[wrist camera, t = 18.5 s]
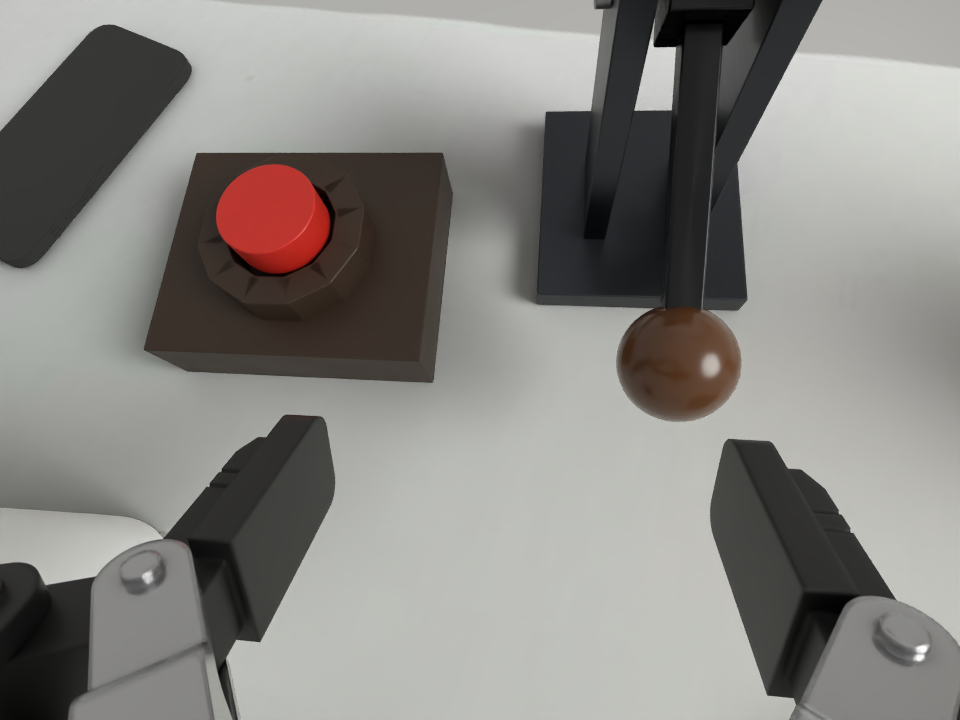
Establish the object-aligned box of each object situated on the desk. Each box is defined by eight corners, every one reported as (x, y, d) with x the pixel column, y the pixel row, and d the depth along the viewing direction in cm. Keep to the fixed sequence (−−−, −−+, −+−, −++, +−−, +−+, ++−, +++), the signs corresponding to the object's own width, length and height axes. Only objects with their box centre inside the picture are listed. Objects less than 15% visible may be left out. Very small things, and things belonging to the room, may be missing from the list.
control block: (186, 371, 27) (112, 334, 22) (230, 191, 30) (173, 125, 25) (433, 383, 26) (409, 346, 21) (453, 193, 29) (436, 124, 24)
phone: (194, 56, 32) (17, 269, 29) (202, 68, 33) (31, 277, 29) (100, 18, 34) (-78, 215, 30) (110, 30, 35) (-62, 224, 31)
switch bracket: (738, 311, 25) (953, 62, 12) (536, 305, 26) (535, 69, 13) (725, 126, 28) (886, -231, 15) (545, 127, 29) (551, -206, 16)
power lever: (715, 411, 19) (754, 438, 16) (607, 405, 20) (620, 431, 16) (752, -42, 17) (804, -128, 14) (632, -38, 18) (653, -120, 14)
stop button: (228, 273, 23) (204, 252, 21) (248, 189, 24) (227, 163, 23) (322, 275, 23) (305, 254, 21) (337, 189, 24) (322, 163, 22)
